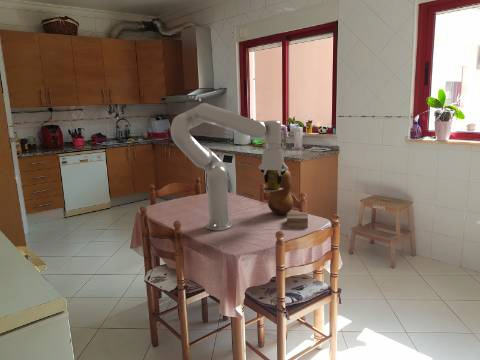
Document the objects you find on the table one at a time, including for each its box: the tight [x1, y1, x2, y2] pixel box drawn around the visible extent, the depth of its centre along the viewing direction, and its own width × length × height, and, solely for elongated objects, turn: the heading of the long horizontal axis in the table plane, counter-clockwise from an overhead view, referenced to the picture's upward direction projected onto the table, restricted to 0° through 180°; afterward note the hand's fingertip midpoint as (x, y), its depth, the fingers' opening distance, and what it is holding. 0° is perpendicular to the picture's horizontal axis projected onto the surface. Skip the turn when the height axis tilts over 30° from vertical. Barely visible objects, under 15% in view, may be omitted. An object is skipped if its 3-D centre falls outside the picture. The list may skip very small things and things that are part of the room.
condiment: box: [261, 170, 283, 192], centre depth 185 cm, size 7×8×12 cm
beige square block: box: [286, 211, 309, 229], centre depth 188 cm, size 10×10×5 cm
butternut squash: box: [267, 168, 294, 216], centre depth 203 cm, size 14×13×25 cm
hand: (273, 182), depth 185 cm, fingers closed on condiment, 6 cm apart
